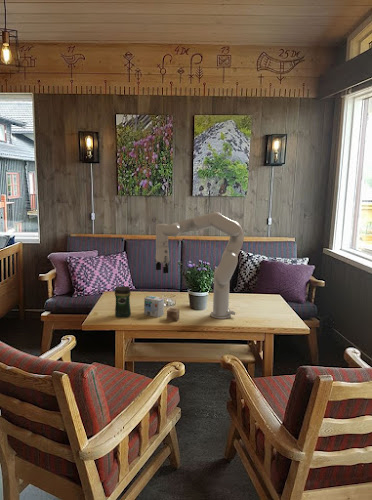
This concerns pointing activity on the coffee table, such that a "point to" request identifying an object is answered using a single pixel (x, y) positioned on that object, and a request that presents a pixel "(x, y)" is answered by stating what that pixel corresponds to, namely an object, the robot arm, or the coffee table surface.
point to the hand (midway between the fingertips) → (162, 271)
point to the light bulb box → (154, 306)
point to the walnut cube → (172, 314)
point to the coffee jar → (122, 301)
